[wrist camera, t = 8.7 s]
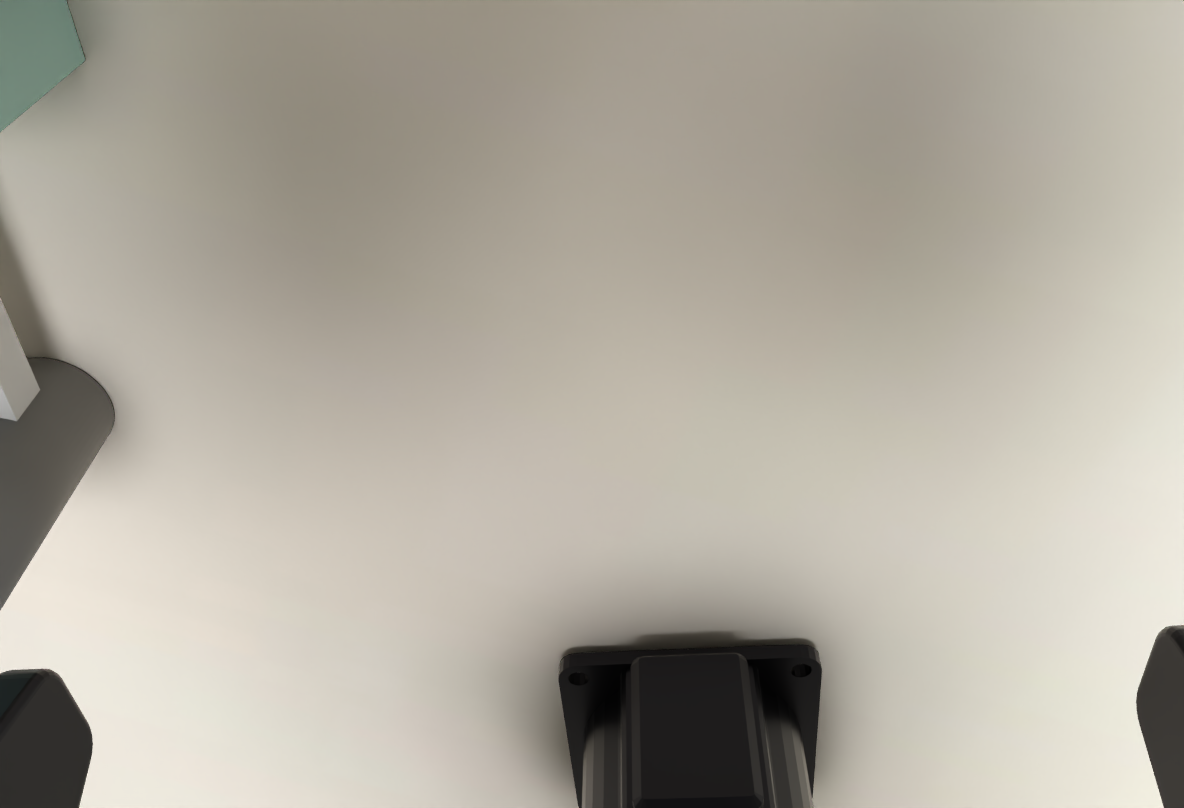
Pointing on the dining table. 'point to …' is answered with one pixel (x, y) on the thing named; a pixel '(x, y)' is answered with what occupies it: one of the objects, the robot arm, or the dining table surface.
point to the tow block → (3, 373)
